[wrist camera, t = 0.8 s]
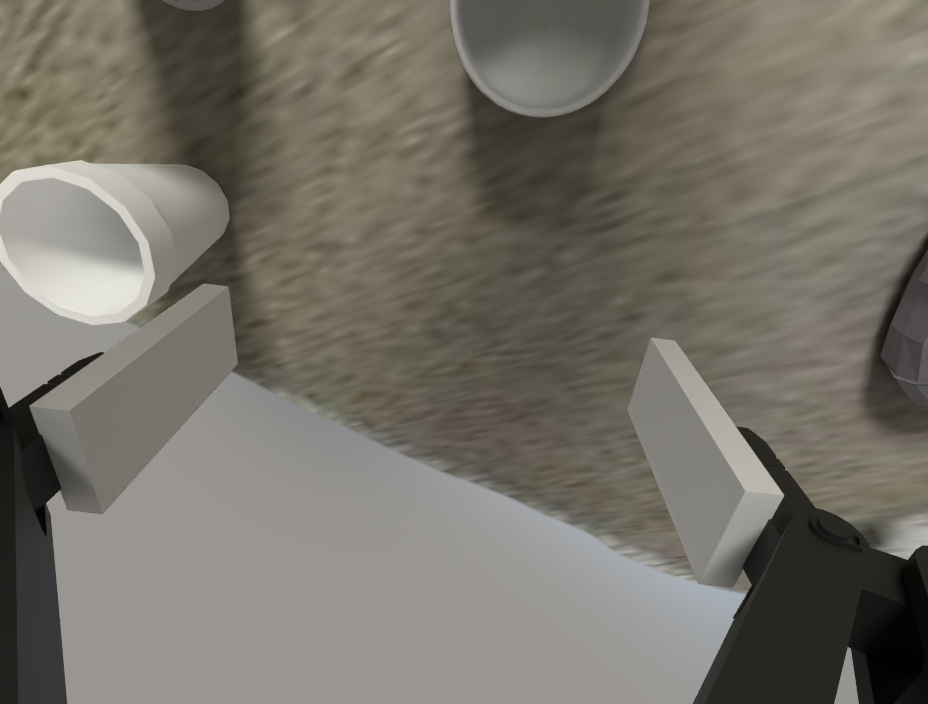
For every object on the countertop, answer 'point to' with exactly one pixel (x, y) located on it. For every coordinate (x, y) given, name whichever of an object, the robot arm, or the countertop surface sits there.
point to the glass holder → (194, 4)
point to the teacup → (546, 49)
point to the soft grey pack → (911, 337)
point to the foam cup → (106, 233)
